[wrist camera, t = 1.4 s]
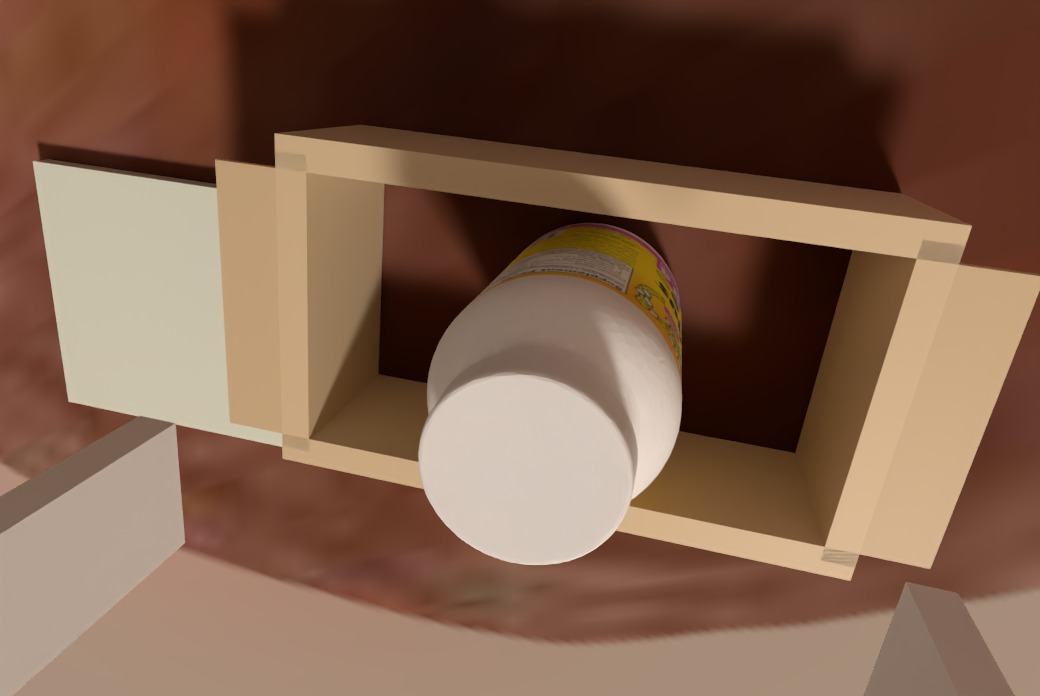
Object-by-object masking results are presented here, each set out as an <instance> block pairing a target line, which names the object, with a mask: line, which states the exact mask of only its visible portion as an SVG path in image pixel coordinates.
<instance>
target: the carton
mask: <svg viewBox="0 0 1040 696" xmlns="http://www.w3.org/2000/svg"><path fill="white" fill-rule="evenodd" d="M274 135H275V166H270V165H263V164H255V163H248V162H241V161H234V160H227V159H215V167H216V185H217V203H218V221H219V239H220V256H221V274H222V292H223V310H224V328H225V346H226V363H227V381H228V399H229V417H230V423H234V424H239V425H244V426H249V427H254V428H258V429H263V430H268V431H273V432H278V433H282V450H283V459H287V460H292V461H296V462H301V463H306V464H310V465H315V466H320V467H324V468H329V469H334V470H338V471H343V472H348V473H352V474H357V475H361V476H366V477H371V478H375V479H380V480H385V481H389V482H394V483H399V484H403V485H408V486H413V487H417V488H422V489H424V488H423V485H422V481H421V477H420V472H419V462H418V449H419V442H420V437H421V433H422V430H423V427H424V425H425V422H426V420H427V418H428V416H429V414H428V406H427V383H423V382H418V381H412V380H407V379H402V378H396V377H391V376H386V375H381V374H379V343H380V311H381V279H382V246H383V214H384V183H385V184H392V185H399V186H406V187H413V188H420V189H427V190H434V191H441V192H448V193H455V194H462V195H469V196H476V197H484V198H491V199H498V200H505V201H512V202H519V203H526V204H533V205H540V206H547V207H554V208H561V209H568V210H575V211H582V212H590V213H597V214H604V215H611V216H618V217H625V218H632V219H639V220H646V221H653V222H660V223H667V224H674V225H681V226H689V227H696V228H703V229H710V230H717V231H724V232H731V233H738V234H745V235H752V236H759V237H766V238H773V239H780V240H787V241H795V242H802V243H809V244H816V245H823V246H830V247H837V248H844V249H851V250H853V251H852V254H851V258H850V261H849V265H848V268H847V272H846V275H845V279H844V282H843V286H842V289H841V293H840V297H839V300H838V304H837V307H836V311H835V314H834V318H833V321H832V325H831V328H830V332H829V335H828V339H827V342H826V346H825V349H824V353H823V357H822V360H821V364H820V367H819V371H818V374H817V378H816V381H815V385H814V388H813V392H812V395H811V399H810V402H809V406H808V409H807V413H806V417H805V420H804V424H803V427H802V431H801V434H800V438H799V441H798V445H797V448H796V452H795V453H793V452H788V451H782V450H777V449H772V448H766V447H761V446H756V445H751V444H745V443H740V442H735V441H729V440H724V439H719V438H714V437H708V436H703V435H698V434H692V433H687V432H682V431H679V432H678V435H677V438H676V442H675V445H674V447H673V450H672V452H671V454H670V456H669V458H668V460H667V462H666V463H665V465H664V467H663V468H662V470H661V472H660V473H659V474H658V475H657V477H656V478H655V479H654V480H653V481H652V482H651V484H650V485H649V486H648V487H647V488H646V489H644V490H643V491H642V492H641V493H640V494H639V495H637V496H636V497H635V498H633V499H632V500H631V502H630V505H629V507H628V510H627V512H626V514H625V516H624V518H623V520H622V522H621V523H620V525H619V526H618V528H617V529H616V530H617V531H621V532H626V533H631V534H635V535H640V536H645V537H649V538H654V539H659V540H663V541H668V542H672V543H677V544H682V545H686V546H691V547H696V548H700V549H705V550H710V551H714V552H719V553H724V554H728V555H733V556H737V557H742V558H747V559H751V560H756V561H761V562H765V563H770V564H775V565H779V566H784V567H788V568H793V569H798V570H802V571H807V572H812V573H816V574H821V575H826V576H830V577H835V578H840V579H844V580H849V581H850V580H851V577H852V574H853V572H854V569H855V566H856V563H857V560H858V557H859V554H861V555H866V556H871V557H875V558H880V559H885V560H890V561H895V562H899V563H904V564H909V565H914V566H918V567H923V568H928V569H930V568H931V566H932V563H933V561H934V558H935V556H936V553H937V551H938V548H939V546H940V543H941V540H942V538H943V535H944V533H945V530H946V528H947V525H948V523H949V520H950V517H951V515H952V512H953V510H954V507H955V505H956V502H957V500H958V497H959V495H960V492H961V489H962V487H963V484H964V482H965V479H966V477H967V474H968V472H969V469H970V466H971V464H972V461H973V459H974V456H975V454H976V451H977V449H978V446H979V443H980V441H981V438H982V436H983V433H984V431H985V428H986V426H987V423H988V421H989V418H990V415H991V413H992V410H993V408H994V405H995V403H996V400H997V398H998V395H999V392H1000V390H1001V387H1002V385H1003V382H1004V380H1005V377H1006V375H1007V372H1008V370H1009V367H1010V364H1011V362H1012V359H1013V357H1014V354H1015V352H1016V349H1017V347H1018V344H1019V341H1020V339H1021V336H1022V334H1023V331H1024V329H1025V326H1026V324H1027V321H1028V319H1029V316H1030V313H1031V311H1032V308H1033V306H1034V303H1035V301H1036V298H1037V296H1038V293H1039V290H1040V274H1035V273H1028V272H1021V271H1014V270H1007V269H1000V268H993V267H986V266H979V265H972V264H964V263H959V262H960V260H961V257H962V254H963V251H964V248H965V245H966V242H967V239H968V236H969V233H970V230H971V227H972V226H971V225H969V224H967V223H965V222H963V221H961V220H958V219H956V218H954V217H952V216H950V215H947V214H945V213H943V212H941V211H939V210H937V209H934V208H932V207H930V206H928V205H926V204H923V203H921V202H919V201H917V200H915V199H913V198H910V197H908V196H906V195H904V194H901V193H893V192H885V191H877V190H869V189H862V188H854V187H846V186H838V185H830V184H822V183H815V182H807V181H799V180H791V179H783V178H775V177H768V176H760V175H752V174H744V173H736V172H728V171H721V170H713V169H705V168H697V167H689V166H681V165H674V164H666V163H658V162H650V161H642V160H634V159H627V158H619V157H611V156H603V155H595V154H587V153H579V152H572V151H564V150H556V149H548V148H540V147H532V146H525V145H517V144H509V143H501V142H493V141H485V140H478V139H470V138H462V137H454V136H446V135H438V134H431V133H423V132H415V131H407V130H399V129H391V128H384V127H376V126H368V125H352V126H342V127H332V128H322V129H312V130H302V131H292V132H282V133H274Z"/></svg>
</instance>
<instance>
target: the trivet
mask: <svg viewBox="0 0 1040 696" xmlns="http://www.w3.org/2000/svg"><path fill="white" fill-rule="evenodd" d="M33 166H34V173H35V180H36V186H37V193H38V200H39V206H40V213H41V220H42V227H43V233H44V240H45V247H46V253H47V260H48V267H49V273H50V280H51V287H52V293H53V300H54V307H55V314H56V320H57V327H58V334H59V340H60V347H61V354H62V360H63V367H64V374H65V380H66V387H67V394H68V400H69V402H74V403H78V404H83V405H88V406H92V407H97V408H102V409H106V410H111V411H116V412H121V413H125V414H130V415H135V416H144V417H149V418H153V419H158V420H162V421H167V422H172V423H175V424H177V425H182V426H186V427H191V428H196V429H201V430H205V431H210V432H215V433H219V434H224V435H229V436H234V437H238V438H243V439H248V440H252V441H257V442H262V443H266V444H271V445H276V446H281V447H282V433H278V432H273V431H268V430H263V429H258V428H254V427H249V426H244V425H239V424H234V423H230V417H229V399H228V381H227V363H226V346H225V328H224V310H223V292H222V274H221V256H220V239H219V221H218V203H217V185H216V184H213V183H206V182H199V181H193V180H186V179H179V178H172V177H166V176H159V175H152V174H145V173H138V172H132V171H125V170H118V169H111V168H105V167H98V166H91V165H84V164H78V163H71V162H64V161H57V160H51V159H47V160H37V161H33Z"/></svg>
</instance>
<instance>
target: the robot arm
mask: <svg viewBox="0 0 1040 696" xmlns="http://www.w3.org/2000/svg"><path fill="white" fill-rule="evenodd" d="M184 543H185V536H184V524H183V511H182V499H181V487H180V474H179V462H178V450H177V437H176V425H175V423H172V422H167V421H162V420H158V419H153V418H149V417H144V416H139V417H137V418H135V419H134V420H132V421H130V422H128V423H127V424H125V425H123V426H121V427H120V428H118V429H116V430H115V431H113V432H111V433H109V434H108V435H106V436H104V437H102V438H101V439H99V440H97V441H96V442H94V443H92V444H90V445H89V446H87V447H85V448H83V449H82V450H80V451H78V452H76V453H75V454H73V455H71V456H70V457H68V458H66V459H64V460H63V461H61V462H59V463H57V464H56V465H54V466H52V467H51V468H49V469H47V470H45V471H44V472H42V473H40V474H38V475H37V476H35V477H33V478H32V479H30V480H28V481H26V482H25V483H23V484H21V485H19V486H18V487H16V488H14V489H12V490H11V491H9V492H7V493H6V494H4V495H2V496H0V696H12V695H13V694H15V693H16V692H17V691H18V690H19V689H20V688H21V687H23V686H24V685H25V684H26V683H27V682H28V681H29V680H30V679H32V678H33V677H34V676H35V675H36V674H37V673H38V672H39V671H41V670H42V669H43V668H44V667H45V666H46V665H47V664H48V663H50V662H51V661H52V660H53V659H54V658H55V657H56V656H58V655H59V654H60V653H61V652H62V651H63V650H64V649H65V648H67V647H68V646H69V645H70V644H71V643H72V642H73V641H75V640H76V639H77V638H78V637H79V636H80V635H81V634H82V633H84V632H85V631H86V630H87V629H88V628H89V627H90V626H92V624H94V623H95V622H96V621H97V620H98V619H99V618H100V617H102V616H103V615H104V614H105V613H106V612H107V611H108V610H109V609H111V608H112V607H113V606H114V605H115V604H116V603H118V602H119V601H120V600H121V599H122V598H123V597H124V596H125V595H126V594H128V593H129V592H130V591H131V590H132V589H133V588H135V587H136V586H137V585H138V584H139V583H140V582H141V581H142V580H143V579H145V578H146V577H147V576H148V575H149V574H150V573H152V572H153V571H154V570H155V569H156V568H157V567H158V566H159V565H160V564H162V563H163V562H164V561H165V560H166V559H167V558H168V557H170V555H172V554H173V553H174V552H175V551H176V550H178V549H179V548H180V547H181V546H182V545H183V544H184ZM864 696H1014V694H1013V692H1012V690H1011V688H1010V686H1009V685H1008V683H1007V681H1006V679H1005V678H1004V676H1003V674H1002V672H1001V670H1000V668H999V667H998V665H997V663H996V661H995V659H994V658H993V656H992V654H991V652H990V650H989V649H988V647H987V645H986V643H985V641H984V640H983V638H982V636H981V634H980V632H979V630H978V629H977V627H976V625H975V623H974V621H973V620H972V618H971V616H970V614H969V612H968V610H967V609H966V607H965V605H964V603H963V601H962V600H961V598H960V596H959V594H958V593H955V592H950V591H946V590H941V589H937V588H932V587H927V586H923V585H918V584H914V583H909V582H906V583H905V586H904V589H903V592H902V594H901V597H900V600H899V602H898V605H897V608H896V610H895V613H894V616H893V618H892V621H891V624H890V627H889V629H888V632H887V635H886V637H885V640H884V642H883V645H882V648H881V650H880V653H879V656H878V659H877V661H876V664H875V666H874V669H873V672H872V675H871V677H870V680H869V683H868V685H867V688H866V691H865V693H864Z"/></svg>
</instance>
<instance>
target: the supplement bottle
mask: <svg viewBox="0 0 1040 696" xmlns="http://www.w3.org/2000/svg"><path fill="white" fill-rule="evenodd" d="M427 406H428V414H429V416H428V418H427V420H426V422H425V425H424V427H423V430H422V433H421V437H420V442H419V449H418V462H419V472H420V477H421V481H422V485H423V488H424V490H425V493H426V495H427V498H428V500H429V501H430V503H431V505H432V506H433V508H434V510H435V512H436V513H437V514H438V516H439V517H440V518H441V519H442V521H443V522H444V523H445V524H446V525H447V526H448V527H449V528H450V529H451V530H452V531H453V532H454V533H455V534H456V535H457V536H458V537H459V538H460V539H462V540H463V541H465V542H466V543H468V544H469V545H471V546H472V547H474V548H475V549H477V550H479V551H481V552H483V553H485V554H487V555H490V556H493V557H495V558H498V559H501V560H504V561H508V562H513V563H518V564H526V565H547V564H557V563H562V562H566V561H570V560H573V559H576V558H578V557H581V556H583V555H585V554H587V553H589V552H591V551H592V550H594V549H596V548H597V547H598V546H600V545H601V544H602V543H604V542H605V541H606V540H607V539H608V538H609V537H610V536H611V535H612V534H613V533H614V532H615V530H616V529H617V528H618V526H619V525H620V523H621V522H622V520H623V518H624V516H625V514H626V512H627V510H628V507H629V505H630V502H631V500H632V499H633V498H635V497H636V496H637V495H639V494H640V493H641V492H642V491H643V490H644V489H646V488H647V487H648V486H649V485H650V484H651V482H652V481H653V480H654V479H655V478H656V477H657V475H658V474H659V473H660V472H661V470H662V468H663V467H664V465H665V463H666V462H667V460H668V458H669V456H670V454H671V452H672V450H673V447H674V445H675V442H676V438H677V435H678V432H679V427H680V421H681V412H682V324H681V305H680V298H679V293H678V289H677V285H676V282H675V280H674V277H673V275H672V273H671V271H670V269H669V267H668V266H667V264H666V263H665V261H664V260H663V259H662V257H661V256H660V255H659V254H658V253H657V252H656V251H655V250H654V248H653V247H651V246H650V245H649V244H648V243H647V242H645V241H644V240H643V239H641V238H640V237H638V236H636V235H635V234H633V233H631V232H629V231H627V230H624V229H622V228H619V227H616V226H612V225H608V224H600V223H578V224H572V225H567V226H564V227H561V228H558V229H555V230H553V231H551V232H549V233H547V234H545V235H543V236H542V237H540V238H539V239H537V240H536V241H534V242H533V243H532V244H531V245H529V246H528V247H527V248H526V249H525V250H524V251H523V252H522V253H521V254H520V255H519V256H518V257H517V258H516V259H515V260H513V261H512V262H511V263H510V264H509V266H508V267H507V268H506V269H505V270H504V271H503V272H502V273H501V274H500V275H499V276H498V277H497V278H496V279H495V280H494V281H492V283H491V284H490V285H489V286H488V287H487V288H485V289H484V290H483V291H482V292H481V293H480V294H479V295H478V296H477V297H476V298H475V299H474V300H473V301H472V302H471V303H470V304H469V305H468V306H467V307H466V308H465V309H464V310H463V311H462V312H461V313H460V314H459V315H458V316H457V317H456V318H455V319H454V320H453V322H452V323H451V324H450V326H449V327H448V328H447V330H446V331H445V333H444V335H443V336H442V338H441V340H440V341H439V344H438V346H437V348H436V351H435V353H434V356H433V359H432V362H431V366H430V370H429V375H428V383H427Z"/></svg>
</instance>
